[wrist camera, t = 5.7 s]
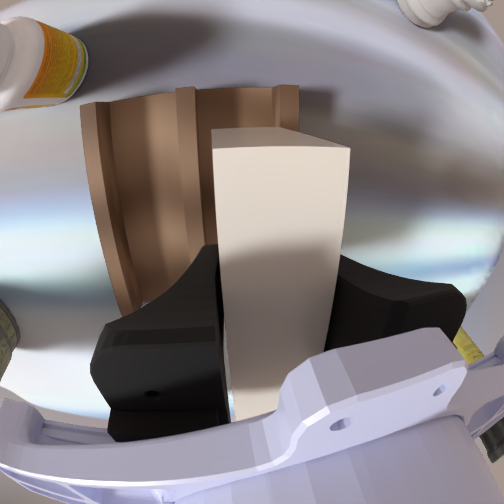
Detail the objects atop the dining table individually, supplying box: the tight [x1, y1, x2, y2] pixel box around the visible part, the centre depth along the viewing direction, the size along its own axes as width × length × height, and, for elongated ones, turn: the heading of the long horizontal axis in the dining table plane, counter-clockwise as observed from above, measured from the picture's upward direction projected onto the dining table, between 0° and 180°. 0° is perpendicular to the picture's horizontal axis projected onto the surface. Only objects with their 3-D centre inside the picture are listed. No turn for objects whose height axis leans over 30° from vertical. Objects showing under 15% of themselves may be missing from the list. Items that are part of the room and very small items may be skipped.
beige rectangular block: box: [211, 127, 350, 422], centre depth 11 cm, size 10×3×7 cm, turn 1°
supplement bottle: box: [0, 17, 88, 112], centre depth 9 cm, size 5×5×10 cm
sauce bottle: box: [453, 326, 504, 463], centre depth 21 cm, size 7×6×20 cm
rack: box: [80, 85, 299, 317], centre depth 18 cm, size 15×13×4 cm
